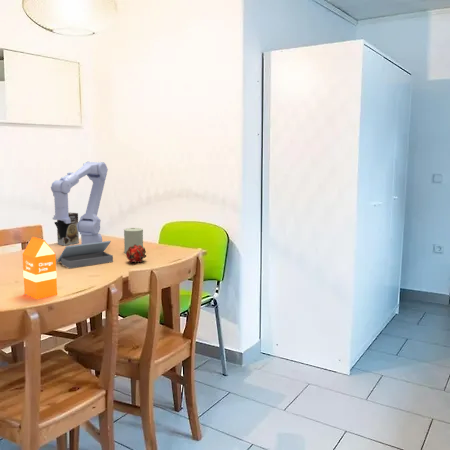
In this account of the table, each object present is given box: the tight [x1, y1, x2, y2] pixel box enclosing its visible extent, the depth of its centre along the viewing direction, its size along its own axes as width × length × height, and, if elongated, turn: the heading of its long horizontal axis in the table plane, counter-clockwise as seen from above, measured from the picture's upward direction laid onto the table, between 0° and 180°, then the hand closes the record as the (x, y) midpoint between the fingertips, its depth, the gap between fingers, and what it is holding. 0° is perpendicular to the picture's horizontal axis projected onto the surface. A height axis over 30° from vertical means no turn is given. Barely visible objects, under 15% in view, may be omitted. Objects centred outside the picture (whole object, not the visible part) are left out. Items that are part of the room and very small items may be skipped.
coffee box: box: [56, 212, 80, 247], centre depth 257 cm, size 9×6×16 cm
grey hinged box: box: [60, 251, 114, 269], centre depth 217 cm, size 20×9×3 cm, turn 130°
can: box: [123, 227, 144, 255], centre depth 238 cm, size 9×9×12 cm
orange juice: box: [22, 236, 58, 300], centre depth 170 cm, size 8×9×20 cm
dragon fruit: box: [125, 244, 147, 264], centre depth 219 cm, size 8×8×12 cm
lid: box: [56, 240, 112, 263], centre depth 219 cm, size 20×14×3 cm
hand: (62, 237), depth 220 cm, fingers closed
